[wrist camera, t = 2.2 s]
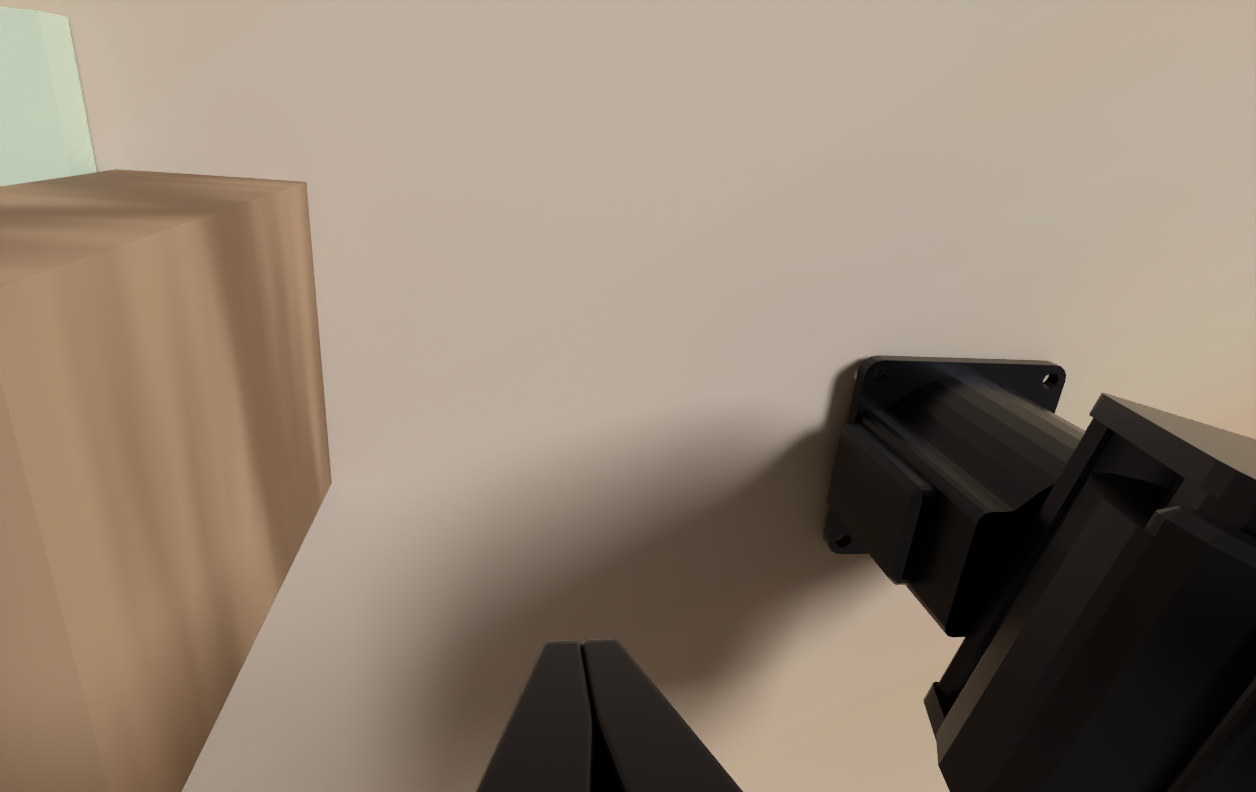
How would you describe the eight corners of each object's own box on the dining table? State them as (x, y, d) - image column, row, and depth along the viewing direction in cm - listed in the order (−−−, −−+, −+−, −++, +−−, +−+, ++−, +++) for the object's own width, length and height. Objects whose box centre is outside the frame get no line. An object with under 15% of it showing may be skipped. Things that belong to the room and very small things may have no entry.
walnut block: (306, 182, 16) (-23, 294, 6) (331, 482, 19) (135, 887, 9) (117, 169, 16) (-592, 273, 6) (173, 483, 19) (-227, 921, 9)
